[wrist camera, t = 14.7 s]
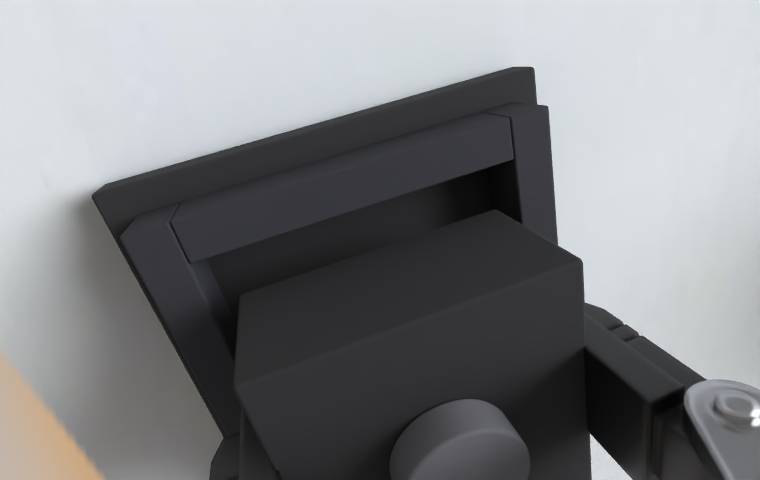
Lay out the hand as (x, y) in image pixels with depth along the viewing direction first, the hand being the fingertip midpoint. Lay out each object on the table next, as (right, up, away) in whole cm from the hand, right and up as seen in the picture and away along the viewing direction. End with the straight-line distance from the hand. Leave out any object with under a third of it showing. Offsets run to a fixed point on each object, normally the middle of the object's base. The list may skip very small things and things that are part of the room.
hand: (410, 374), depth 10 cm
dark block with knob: (0, 0, +1) cm, 1 cm away
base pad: (-1, +1, +3) cm, 4 cm away
